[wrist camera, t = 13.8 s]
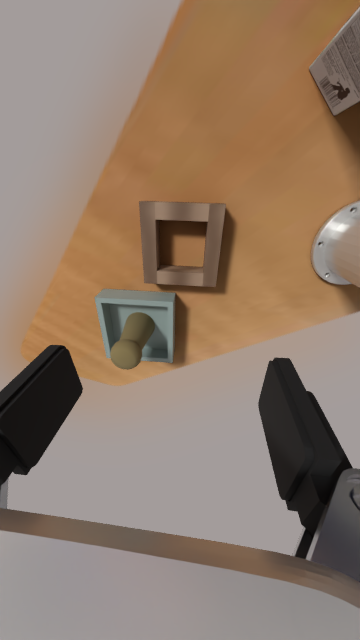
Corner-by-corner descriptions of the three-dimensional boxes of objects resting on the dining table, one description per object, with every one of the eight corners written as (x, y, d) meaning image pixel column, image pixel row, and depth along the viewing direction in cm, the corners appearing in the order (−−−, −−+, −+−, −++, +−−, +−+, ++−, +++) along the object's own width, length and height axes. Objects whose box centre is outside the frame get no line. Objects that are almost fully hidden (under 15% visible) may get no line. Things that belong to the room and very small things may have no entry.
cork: (147, 341, 45) (133, 380, 35) (121, 328, 44) (99, 365, 34) (159, 320, 42) (147, 357, 32) (132, 306, 41) (111, 340, 31)
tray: (175, 292, 39) (173, 302, 36) (174, 350, 47) (172, 362, 43) (103, 288, 40) (94, 297, 37) (113, 346, 47) (106, 357, 44)
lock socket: (223, 203, 31) (225, 204, 28) (214, 279, 38) (215, 287, 35) (144, 201, 32) (139, 201, 29) (148, 276, 38) (144, 283, 35)
